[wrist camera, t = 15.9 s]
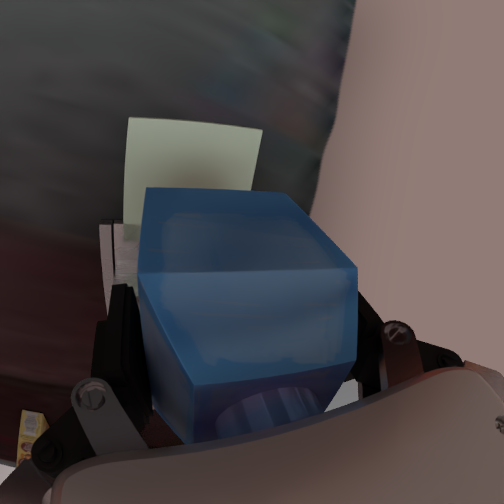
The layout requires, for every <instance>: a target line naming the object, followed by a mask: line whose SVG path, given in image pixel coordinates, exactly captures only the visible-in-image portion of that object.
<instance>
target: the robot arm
mask: <svg viewBox="0 0 504 504" xmlns="http://www.w3.org/2000/svg"><path fill="white" fill-rule="evenodd" d="M352 379H355V380H356V381H357V382H358V397H359V400H358V401H355V402H353V403H350V404H347V405H345V406H342V407H339V408H336V409H333V410H330V411H327V412H324V413H321V414H318V415H315V416H312V417H308V418H305V419H302V420H298V421H295V422H291V423H288V424H284V425H281V426H277V427H273V428H269V429H265V430H261V431H257V432H252V433H248V434H243V435H239V436H234V437H229V438H224V439H218V440H213V441H207V442H201V443H194V444H187V445H180V446H172V447H165V448H156V449H150V447H149V446H148V444H147V443H146V442H145V440H144V439H143V437H142V436H141V434H140V432H141V431H142V430H143V429H144V424H149V416H153V405H152V394H151V390H150V384H149V378H148V372H147V365H146V358H145V351H144V343H143V335H142V326H141V317H140V311H139V307H138V304H137V300H136V296H135V293H134V289H133V287H132V286H130V287H128V285H127V283H123V284H115V285H112V289H111V296H110V303H109V310H108V318H107V320H106V321H98V323H97V327H96V334H95V341H94V350H93V359H92V369H91V378H88V379H85V380H83V381H81V382H80V383H78V384H77V385H76V386H75V388H74V390H73V392H72V395H71V401H72V405H73V406H72V407H71V408H70V409H69V410H68V411H67V412H66V413H65V414H64V415H62V416H61V417H60V418H59V419H58V420H57V421H56V422H55V423H54V424H53V425H52V426H50V427H49V428H48V429H47V430H46V431H45V432H44V433H43V434H42V435H41V436H39V437H38V438H37V439H36V441H35V442H34V443H33V446H32V448H31V458H30V459H29V460H27V459H24V460H23V461H22V462H21V463H20V464H19V465H18V467H17V468H16V469H15V470H14V471H13V472H12V473H11V474H10V475H9V476H8V477H7V478H6V479H5V480H4V481H3V483H2V484H1V485H0V504H504V377H503V376H502V375H501V374H500V373H499V372H497V371H495V370H492V369H489V368H486V367H483V366H480V365H477V364H475V363H472V362H469V361H466V360H465V361H464V362H462V360H461V358H460V357H459V356H458V355H457V354H456V353H455V352H453V351H451V350H449V349H445V348H442V347H439V346H435V345H432V344H429V343H425V342H422V341H419V340H416V337H415V334H414V331H413V330H412V329H411V327H410V326H408V325H407V324H406V323H403V322H401V321H396V320H393V321H388V322H385V323H384V322H383V321H382V320H381V318H380V317H379V316H378V314H377V313H376V312H375V311H374V310H373V308H372V307H371V306H370V304H369V303H368V302H367V301H366V300H365V298H364V297H363V296H362V295H361V293H360V292H359V291H358V329H357V357H356V362H355V363H354V365H353V367H352V368H351V370H350V372H349V373H348V375H347V377H346V378H345V380H344V382H346V381H349V380H352Z"/></svg>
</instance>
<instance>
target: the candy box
mask: <svg viewBox="0 0 504 504" xmlns="http://www.w3.org/2000/svg"><path fill="white" fill-rule="evenodd" d="M48 428H49V425H48V423H47V421H46V419H45V417H44V415H43V413H38V412H32V411H27V410H22V415H21V423H20V430H19V440H18V452H17V467H18V465H19V464H20V463H21V462H22V461H23V460H24V459H27V460H29V459H30V458H31V448H32V446H33V443H34V442H35V441H36V439H37V438H38V437H39V436H41V435H42V434H43V433H44V432H45V431H46V430H47V429H48Z"/></svg>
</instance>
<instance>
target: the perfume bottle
mask: <svg viewBox="0 0 504 504" xmlns="http://www.w3.org/2000/svg"><path fill="white" fill-rule="evenodd" d="M137 282H138V295H139V307H140V317H141V326H142V335H143V343H144V351H145V358H146V365H147V372H148V378H149V384H150V390H151V394H152V401H153V407H154V408H155V410H156V411H157V412H158V413H159V414H160V416H161V417H162V418H163V419H164V420H165V422H166V423H167V424H168V425H169V426H170V428H171V429H172V430H173V431H174V432H175V433H176V434H177V436H178V437H179V438H180V439H181V440H182V441H183V442H184V443H185V444H186V445H187V444H194V443H201V442H207V441H213V440H218V439H224V438H229V437H234V436H239V435H243V434H248V433H252V432H257V431H261V430H265V429H269V428H273V427H277V426H281V425H284V424H288V423H291V422H295V421H298V420H302V419H305V418H308V417H312V416H315V415H318V414H321V413H324V411H325V410H326V408H327V407H328V405H329V404H330V402H331V401H332V399H333V397H334V396H335V395H336V393H337V391H338V390H339V388H340V387H341V385H342V383H343V382H344V380H345V378H346V377H347V375H348V373H349V372H350V370H351V368H352V367H353V365H354V363H355V362H356V357H357V329H358V271H357V267H356V266H355V265H354V263H353V262H352V261H351V260H350V259H349V258H348V257H347V256H346V255H345V254H344V253H343V252H342V251H341V250H340V248H339V247H338V246H336V244H335V243H334V242H333V241H332V240H331V239H330V238H329V237H328V236H327V235H326V234H325V233H324V232H323V231H322V230H321V229H320V228H319V227H318V226H317V225H316V224H315V223H314V222H313V221H312V219H311V218H310V217H309V216H308V215H307V214H306V213H305V212H304V211H303V210H302V209H301V208H300V207H299V206H298V205H297V204H296V203H295V202H294V201H293V200H292V199H291V198H289V197H288V196H287V195H286V194H285V193H279V192H265V191H248V190H229V189H205V188H166V187H146V191H145V198H144V206H143V214H142V222H141V231H140V241H139V252H138V265H137Z"/></svg>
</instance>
